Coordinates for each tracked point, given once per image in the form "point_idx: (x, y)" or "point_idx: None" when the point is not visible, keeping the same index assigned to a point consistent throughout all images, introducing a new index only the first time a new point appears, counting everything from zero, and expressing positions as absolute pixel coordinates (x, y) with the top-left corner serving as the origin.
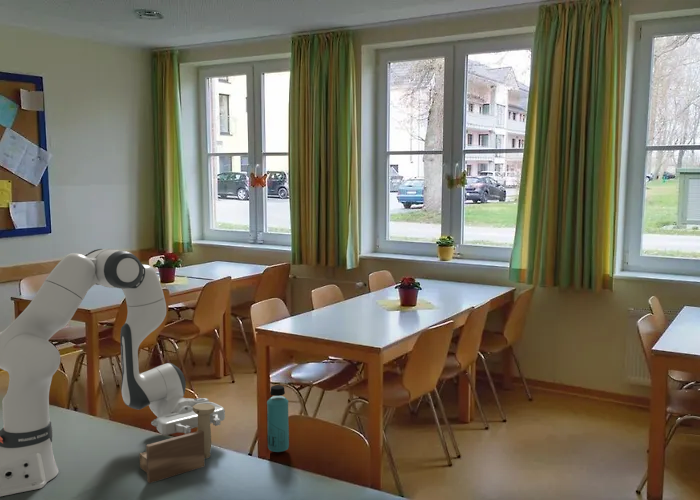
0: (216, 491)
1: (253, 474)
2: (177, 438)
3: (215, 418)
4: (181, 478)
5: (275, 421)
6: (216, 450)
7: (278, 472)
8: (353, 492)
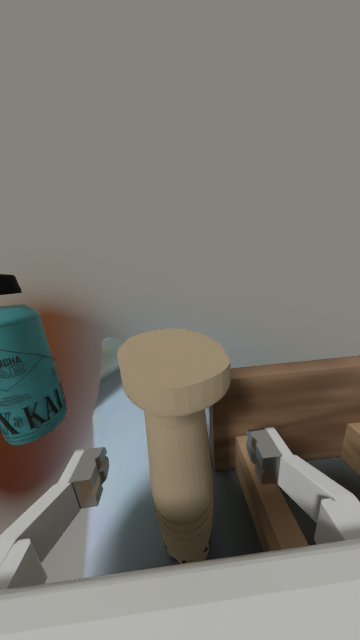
0: None
1: None
2: (294, 363)
3: (77, 475)
4: None
5: (49, 349)
6: None
7: None
8: (115, 340)
